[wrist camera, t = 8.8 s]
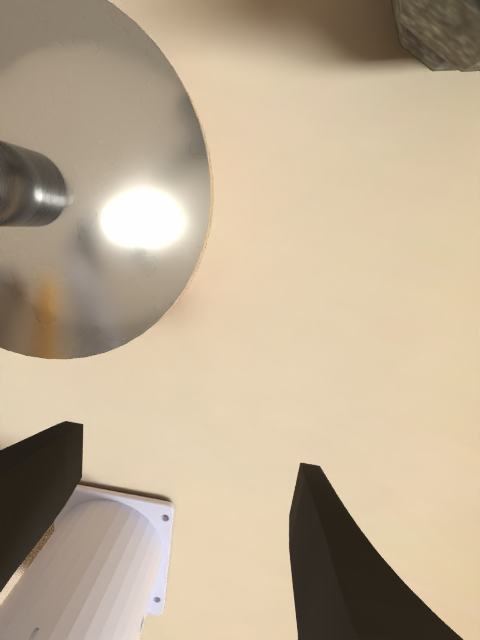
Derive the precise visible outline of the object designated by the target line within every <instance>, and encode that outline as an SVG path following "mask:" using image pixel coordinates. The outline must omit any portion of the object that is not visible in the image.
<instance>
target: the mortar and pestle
mask: <svg viewBox="0 0 480 640" xmlns="http://www.w3.org/2000/svg"><path fill="white" fill-rule="evenodd" d="M391 1H392V6H393V11H394V16H395V21H396V26H397V31H398V36H399V41H400V44H401V45H402V46H403V47H405V48H406V49H407V50H408V51H409V52H411V53H412V54H413V55H414V56H415V57H417V58H418V59H419V60H420V61H421V62H423V63H424V64H425V65H426V66H427V67H429V68H430V69H431V70H432V71H450V70H459V71H461V72H468V71H480V0H391Z"/></svg>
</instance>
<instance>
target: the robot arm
mask: <svg viewBox="0 0 480 640" xmlns="http://www.w3.org/2000/svg"><path fill="white" fill-rule="evenodd" d="M82 454H83V424H79V423H73V422H68V421H65V422H62V423H59V424H57V425H55V426H52V427H50V428H48V429H46V430H44V431H42V432H39V433H37V434H35V435H33V436H31V437H29V438H27V439H24V440H22V441H20V442H18V443H16V444H14V445H11V446H9V447H7V448H5V449H3V450H0V592H1V591H2V589H3V588H4V587H5V585H6V584H7V582H8V581H9V580H10V578H11V577H12V575H13V574H14V573H15V571H16V570H17V569H18V567H19V566H20V565H21V563H22V562H23V561H24V559H25V558H26V557H27V556H28V554H29V553H30V552H31V550H32V549H33V548H34V546H35V545H36V544H37V542H38V541H39V540H40V538H41V537H42V536H43V535H44V533H45V532H46V531H47V529H48V528H49V527H50V525H51V524H52V523H53V521H54V532H53V534H52V535H51V536H50V538H49V539H48V541H47V542H46V543H45V545H44V546H43V548H42V549H41V550H40V552H39V553H38V554H37V556H36V557H35V559H34V560H33V561H32V563H31V564H30V565H29V567H28V568H27V570H26V571H25V572H24V574H23V575H22V576H21V578H20V579H19V581H18V582H17V583H16V585H15V586H14V588H13V589H12V590H11V592H10V593H9V594H8V596H7V597H6V599H5V600H4V601H3V603H2V604H1V605H0V640H139V638H140V635H141V632H142V629H143V626H144V623H145V620H146V617H147V614H152V615H160V614H162V612H163V609H164V605H165V595H166V586H167V576H168V567H169V558H170V548H171V539H172V529H173V520H174V511H175V508H174V505H173V504H172V503H171V502H168V501H163V500H158V499H153V498H147V497H142V496H137V495H131V494H126V493H120V492H115V491H110V490H104V489H99V488H94V487H88V486H83V485H78V483H79V481H80V479H81V478H82ZM164 515H167V516H168V517H166V516H164ZM289 552H290V562H291V572H292V582H293V591H294V601H295V611H296V620H297V630H298V640H463V639H462V638H461V637H460V636H459V635H457V634H456V633H455V632H454V631H453V630H452V629H451V628H450V627H449V626H448V625H446V624H445V623H444V622H443V621H442V620H441V619H440V618H439V617H438V616H437V615H436V614H435V613H434V612H433V611H432V610H431V609H430V608H429V607H428V606H427V605H426V604H425V603H424V602H423V601H422V600H421V599H420V598H419V597H418V596H417V595H416V594H415V593H414V592H413V591H412V590H411V589H410V588H409V587H408V586H407V585H406V584H405V583H404V582H403V581H402V580H401V578H400V577H399V576H398V575H397V574H396V573H395V572H394V570H393V569H392V568H391V567H390V566H389V565H388V564H387V562H386V561H385V560H384V559H383V558H382V557H381V555H380V554H379V553H378V552H377V551H376V549H375V548H374V547H373V546H372V544H371V543H370V542H369V540H368V539H367V538H366V536H365V535H364V534H363V532H362V531H361V530H360V528H359V527H358V525H357V524H356V522H355V521H354V520H353V518H352V517H351V515H350V514H349V512H348V511H347V509H346V508H345V506H344V505H343V503H342V502H341V500H340V498H339V497H338V495H337V494H336V492H335V490H334V489H333V487H332V485H331V484H330V482H329V480H328V479H327V477H326V475H325V474H324V472H323V470H322V469H321V467H320V466H317V465H311V464H306V463H300V467H299V472H298V476H297V481H296V486H295V491H294V495H293V500H292V505H291V510H290V515H289Z"/></svg>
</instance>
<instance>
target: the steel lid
mask: <svg viewBox="0 0 480 640" xmlns="http://www.w3.org/2000/svg"><path fill="white" fill-rule="evenodd" d="M212 210H213V174H212V167H211V160H210V153H209V148H208V145H207V141H206V137H205V134H204V130H203V126H202V124H201V121H200V119H199V116H198V114H197V111H196V109H195V106H194V104H193V101H192V99H191V98H190V96H189V94H188V92H187V90H186V89H185V87H184V85H183V83H182V81H181V80H180V78H179V76H178V74H177V73H176V71H175V70H174V68H173V67H172V65H171V64H170V62H169V61H168V60H167V58H166V57H165V56H164V54H163V53H162V51H161V50H160V49H159V47H158V46H157V45H156V43H155V42H154V41H153V40H152V39H151V38H150V37H149V36H148V35H147V34H146V33H145V32H144V31H143V30H142V28H141V27H140V26H139V25H138V24H137V23H136V22H135V21H133V20H132V19H131V18H130V17H128V16H127V15H126V14H125V13H124V12H122V11H121V10H120V9H119V8H117V7H116V6H115V5H114V4H112V3H110V2H109V1H107V0H0V347H1V348H3V349H5V350H8V351H12V352H16V353H19V354H23V355H26V356H32V357H39V358H45V359H73V358H82V357H88V356H92V355H96V354H101V353H105V352H107V351H110V350H112V349H115V348H117V347H120V346H122V345H124V344H126V343H128V342H129V341H131V340H133V339H135V338H136V337H138V336H140V335H141V334H143V333H144V332H145V331H146V330H148V329H149V328H150V327H151V326H153V325H154V324H155V323H157V322H158V321H159V320H160V319H162V318H163V317H164V316H165V315H166V314H167V312H168V311H169V310H170V309H171V308H172V307H173V306H174V305H175V304H176V303H177V302H178V300H179V299H180V297H181V296H182V295H183V293H184V292H185V290H186V289H187V288H188V286H189V284H190V282H191V281H192V279H193V277H194V275H195V273H196V271H197V269H198V267H199V264H200V262H201V259H202V256H203V254H204V251H205V248H206V245H207V240H208V236H209V231H210V227H211V220H212Z"/></svg>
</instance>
